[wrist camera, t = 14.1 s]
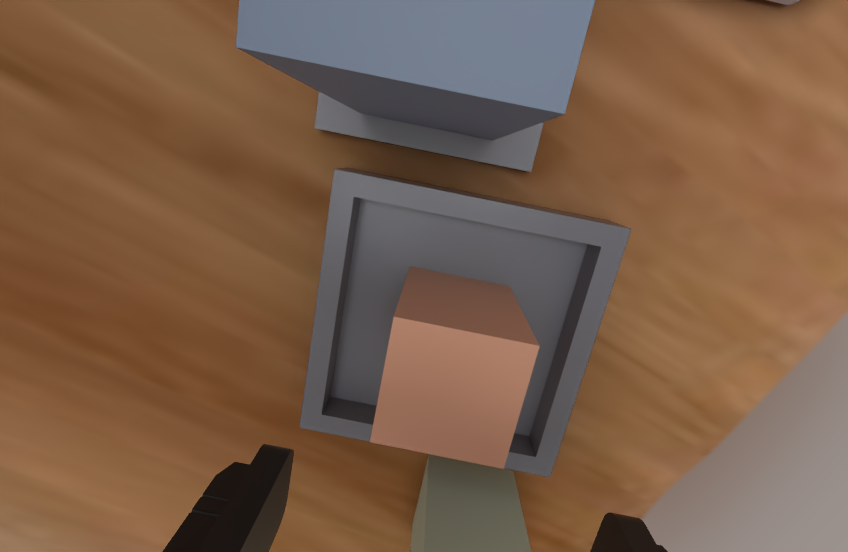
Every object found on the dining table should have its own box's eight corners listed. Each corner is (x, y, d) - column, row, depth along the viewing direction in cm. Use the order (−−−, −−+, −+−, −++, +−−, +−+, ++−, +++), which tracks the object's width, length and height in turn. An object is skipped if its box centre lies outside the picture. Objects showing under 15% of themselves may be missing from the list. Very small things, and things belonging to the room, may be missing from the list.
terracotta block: (392, 357, 23) (369, 441, 16) (409, 266, 21) (393, 316, 14) (486, 376, 23) (503, 468, 16) (509, 286, 21) (539, 346, 15)
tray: (313, 401, 24) (299, 427, 22) (347, 167, 21) (334, 169, 19) (539, 445, 24) (550, 477, 22) (610, 220, 21) (631, 228, 19)
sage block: (412, 522, 26) (401, 647, 20) (428, 454, 25) (423, 563, 18) (493, 538, 26) (509, 669, 20) (513, 470, 25) (538, 585, 18)
